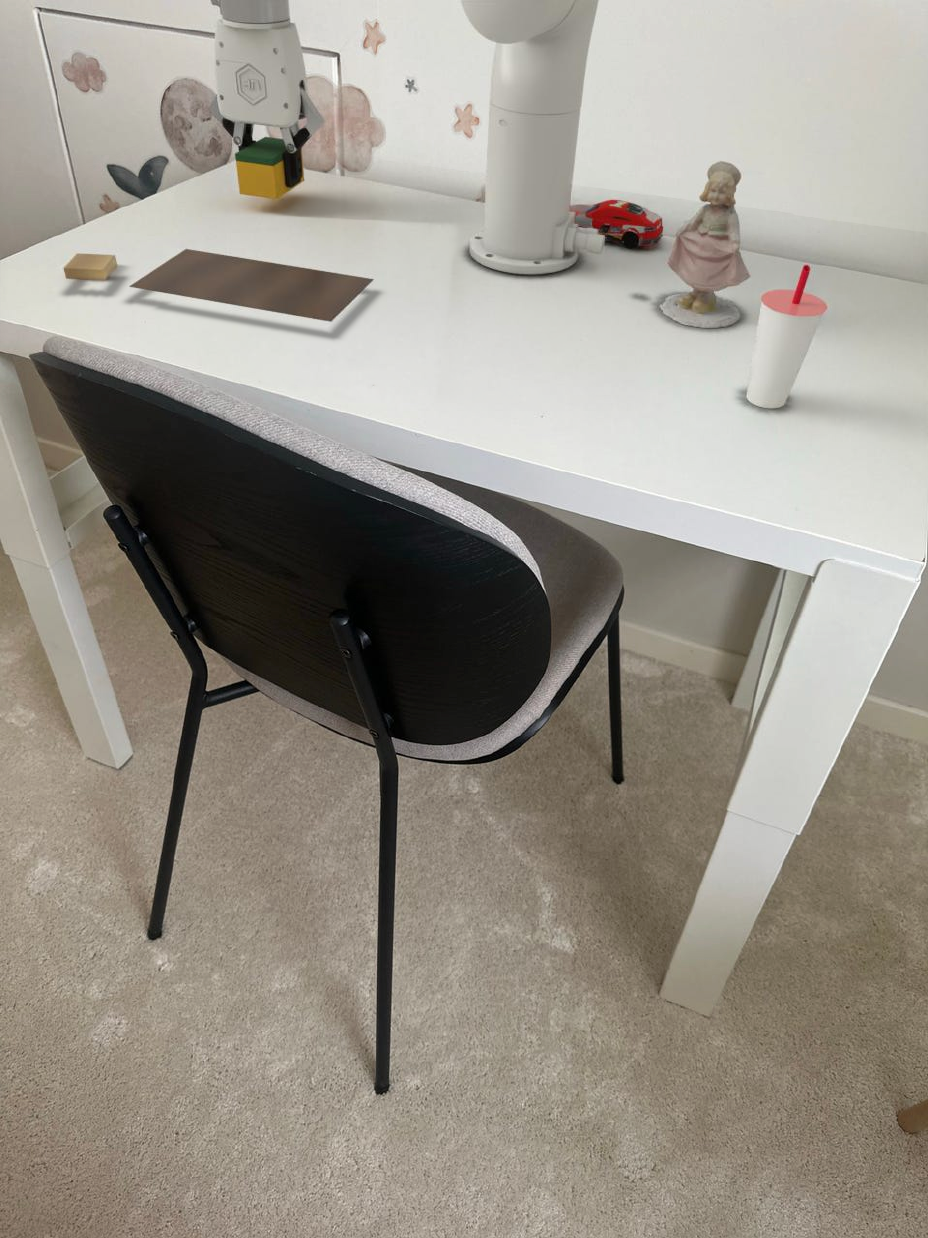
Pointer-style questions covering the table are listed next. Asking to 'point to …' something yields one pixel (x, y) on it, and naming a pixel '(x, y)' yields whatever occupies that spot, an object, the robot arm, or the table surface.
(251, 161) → the sponge
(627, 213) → the race car
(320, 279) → the board
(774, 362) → the cup
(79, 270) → the wooden block
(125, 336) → the table surface
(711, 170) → the figurine
